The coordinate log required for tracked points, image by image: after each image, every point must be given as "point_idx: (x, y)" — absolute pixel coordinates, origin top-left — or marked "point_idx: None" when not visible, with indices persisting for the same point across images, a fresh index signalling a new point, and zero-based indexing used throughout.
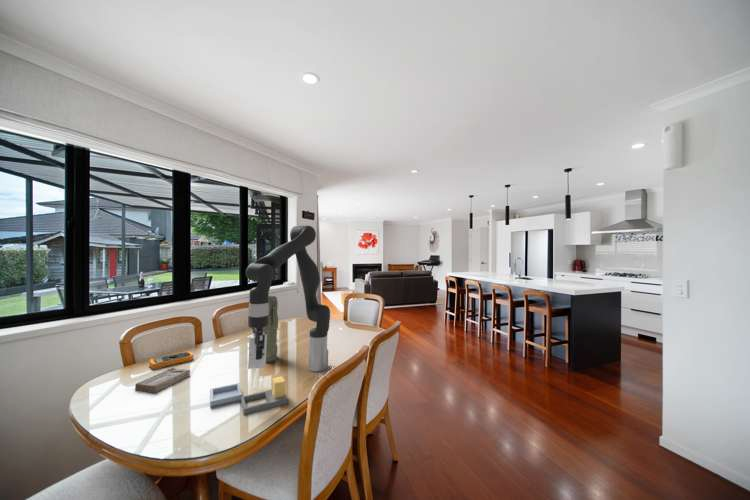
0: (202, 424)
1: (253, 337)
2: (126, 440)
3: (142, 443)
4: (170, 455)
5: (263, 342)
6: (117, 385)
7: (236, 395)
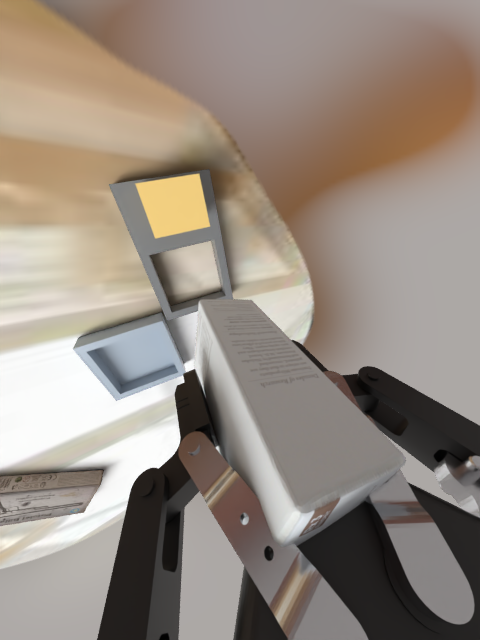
0: None
1: None
2: None
3: None
4: None
5: (446, 411)
6: (66, 525)
7: (166, 332)
